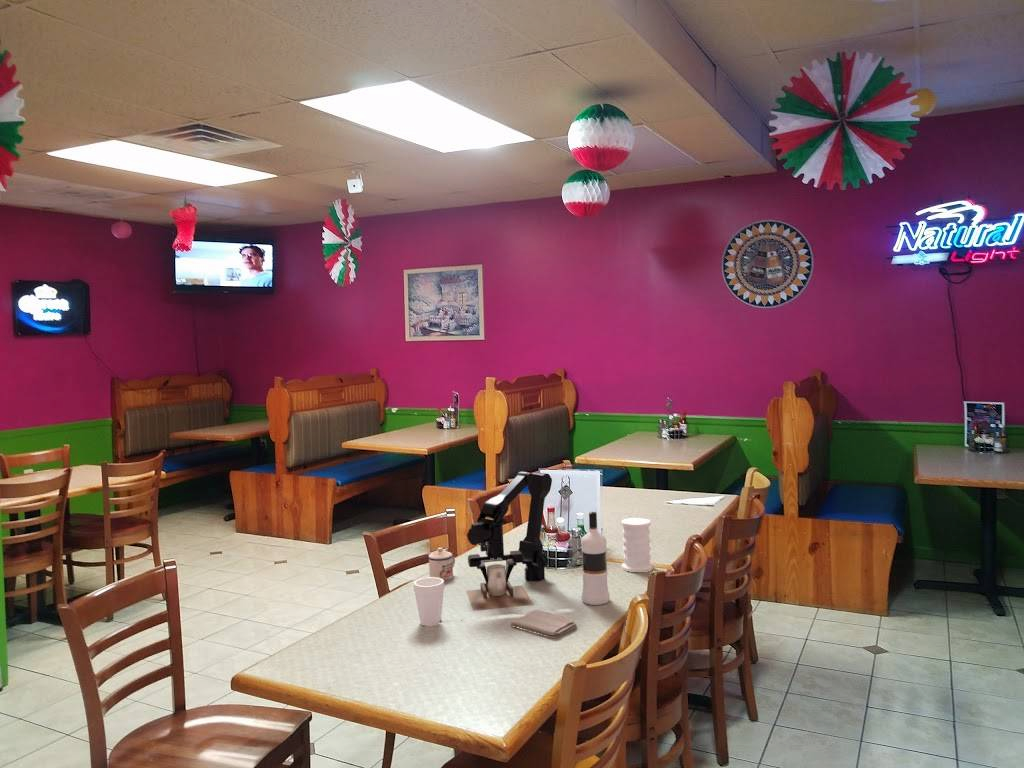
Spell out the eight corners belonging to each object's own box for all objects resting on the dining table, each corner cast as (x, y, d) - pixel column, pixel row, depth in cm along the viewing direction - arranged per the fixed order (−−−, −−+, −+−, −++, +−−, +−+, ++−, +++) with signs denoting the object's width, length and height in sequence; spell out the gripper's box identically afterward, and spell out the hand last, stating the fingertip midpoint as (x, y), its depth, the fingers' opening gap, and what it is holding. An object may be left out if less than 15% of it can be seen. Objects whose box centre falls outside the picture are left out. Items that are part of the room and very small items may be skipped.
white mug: (486, 590, 264) (485, 565, 263) (504, 588, 265) (503, 563, 264) (490, 600, 254) (489, 573, 253) (509, 598, 255) (508, 571, 254)
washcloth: (556, 641, 222) (555, 631, 221) (509, 628, 233) (508, 618, 233) (579, 628, 231) (579, 618, 231) (532, 616, 242) (532, 607, 242)
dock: (522, 588, 269) (522, 578, 268) (533, 607, 249) (533, 596, 249) (466, 593, 265) (465, 583, 265) (473, 613, 245) (472, 602, 245)
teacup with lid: (442, 584, 276) (440, 552, 276) (424, 580, 282) (422, 549, 281) (463, 575, 286) (462, 544, 285) (446, 571, 291) (444, 541, 291)
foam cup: (450, 618, 242) (448, 578, 241) (438, 629, 233) (436, 587, 232) (423, 615, 245) (421, 576, 244) (410, 626, 236) (408, 585, 236)
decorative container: (643, 562, 294) (642, 516, 293) (658, 570, 283) (657, 522, 282) (616, 566, 290) (615, 519, 289) (630, 574, 279) (629, 526, 278)
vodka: (577, 599, 255) (574, 510, 253) (601, 594, 258) (599, 507, 257) (589, 607, 247) (586, 516, 245) (614, 603, 250) (611, 513, 248)
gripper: (517, 530, 269) (519, 573, 270) (465, 534, 266) (467, 578, 267) (523, 538, 258) (525, 583, 259) (468, 543, 255) (470, 588, 256)
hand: (496, 583), depth 261 cm, fingers closed on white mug, 6 cm apart
